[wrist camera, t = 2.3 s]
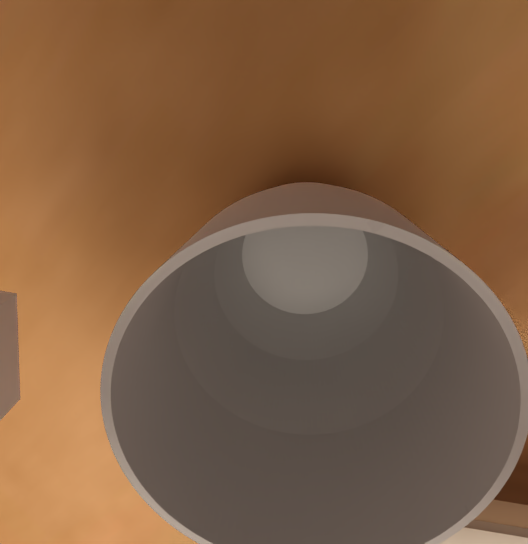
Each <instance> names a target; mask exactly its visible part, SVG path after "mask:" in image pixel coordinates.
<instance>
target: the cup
mask: <svg viewBox="0 0 528 544" xmlns="http://www.w3.org/2000/svg"><path fill="white" fill-rule="evenodd" d="M101 408H102V415H103V421H104V425H105V429H106V433H107V436H108V440H109V442H110V445H111V448H112V450H113V453H114V455H115V457H116V459H117V461H118V463H119V465H120V467H121V469H122V471H123V472H124V474H125V475H126V477H127V479H128V480H129V482H130V483H131V484H132V486H133V487H134V489H135V490H136V491H137V492H138V494H139V495H140V496H141V497H142V498H143V500H144V501H145V502H146V503H147V504H148V505H149V506H150V507H151V508H152V509H153V510H154V511H155V512H156V513H157V514H158V515H159V516H160V517H162V518H163V519H164V520H165V521H166V522H167V523H169V524H170V525H171V526H173V527H174V528H175V529H177V530H178V531H180V532H181V533H182V534H184V535H185V536H187V537H189V538H190V539H192V540H193V541H195V542H197V543H199V544H440V543H441V542H443V541H445V540H446V539H448V538H450V537H451V536H453V535H454V534H456V533H457V532H458V531H460V530H461V529H462V528H464V527H465V526H466V525H468V524H469V523H470V522H471V521H472V520H474V519H475V518H476V517H477V516H478V515H479V514H480V513H481V512H482V511H483V510H484V509H485V508H486V507H487V506H488V505H489V504H490V503H491V502H492V500H493V499H494V498H495V497H496V496H497V494H498V493H499V492H500V490H501V489H502V488H503V486H504V485H505V483H506V482H507V480H508V479H509V477H510V475H511V473H512V472H513V470H514V468H515V466H516V464H517V462H518V460H519V457H520V455H521V453H522V450H523V447H524V444H525V441H526V438H527V434H528V359H527V355H526V352H525V349H524V346H523V343H522V340H521V338H520V335H519V333H518V331H517V329H516V327H515V325H514V323H513V321H512V319H511V317H510V316H509V314H508V312H507V311H506V309H505V308H504V306H503V305H502V303H501V302H500V301H499V299H498V298H497V297H496V295H495V294H494V293H493V292H492V290H491V289H490V288H489V287H488V286H487V285H486V284H485V283H484V282H483V281H482V280H481V279H480V278H479V277H478V276H477V275H476V274H475V273H474V272H473V271H472V270H471V269H470V268H468V267H467V266H466V265H465V264H463V263H462V262H461V261H460V260H458V259H457V258H456V257H455V256H453V255H452V254H451V253H450V252H448V251H447V250H446V249H445V248H443V247H442V246H441V245H440V244H438V243H437V242H436V241H435V240H433V239H432V238H431V237H429V236H428V235H427V234H426V233H424V232H423V231H422V230H421V229H419V228H418V227H417V226H416V225H414V224H413V223H412V222H411V221H409V220H408V219H407V218H406V217H404V216H403V215H402V214H401V213H399V212H398V211H396V210H395V209H393V208H392V207H390V206H389V205H387V204H385V203H383V202H382V201H380V200H378V199H376V198H374V197H371V196H369V195H366V194H364V193H361V192H358V191H355V190H352V189H348V188H344V187H339V186H334V185H329V184H323V183H315V182H299V183H290V184H285V185H281V186H277V187H274V188H270V189H267V190H263V191H260V192H257V193H254V194H252V195H249V196H247V197H245V198H243V199H241V200H239V201H237V202H235V203H233V204H231V205H230V206H228V207H227V208H225V209H224V210H222V211H221V212H219V213H218V214H217V215H215V216H214V217H213V218H212V219H211V220H209V221H208V222H207V223H206V224H205V225H204V226H203V227H202V228H201V229H200V230H199V231H198V232H197V233H196V234H194V235H193V236H192V237H191V238H190V239H189V240H188V241H187V242H186V243H185V244H184V245H183V246H182V247H181V248H180V249H179V250H177V251H176V252H175V253H174V254H173V255H172V256H171V257H170V258H169V259H168V260H167V261H166V262H165V263H164V264H163V265H162V266H160V267H159V268H158V269H157V270H156V271H155V272H154V273H153V274H152V275H151V276H150V277H149V278H148V279H147V280H146V281H145V282H144V283H143V285H142V286H141V287H140V288H139V289H138V290H137V292H136V293H135V294H134V295H133V297H132V298H131V300H130V301H129V302H128V304H127V305H126V307H125V309H124V310H123V312H122V314H121V315H120V317H119V319H118V321H117V323H116V325H115V327H114V329H113V332H112V334H111V337H110V340H109V343H108V345H107V349H106V353H105V356H104V361H103V367H102V374H101Z"/></svg>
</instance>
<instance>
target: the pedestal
mask: <svg viewBox="0 0 528 544" xmlns="http://www.w3.org/2000/svg"><path fill="white" fill-rule="evenodd" d="M440 544H528V434H527V438H526V441H525V444H524V447H523V450H522V453H521V455H520V457H519V460H518V462H517V464H516V466H515V468H514V470H513V472H512V473H511V475H510V477H509V479H508V480H507V482H506V483H505V485H504V486H503V488H502V489H501V490H500V492H499V493H498V494H497V496H496V497H495V498H494V499H493V500H492V502H491V503H490V504H489V505H488V506H487V507H486V508H485V509H484V510H483V511H482V512H481V513H480V514H479V515H478V516H477V517H476V518H475V519H474V520H472V521H471V522H470V523H469V524H468V525H466V526H465V527H464V528H462V529H461V530H460V531H458V532H457V533H456V534H454V535H453V536H451V537H450V538H448V539H446V540H445V541H443V542H441V543H440Z"/></svg>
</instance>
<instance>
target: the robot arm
mask: <svg viewBox="0 0 528 544" xmlns="http://www.w3.org/2000/svg"><path fill="white" fill-rule="evenodd" d="M19 400H20V378H19V348H18V318H17V293H11V292H5V291H0V420H1V419H2V418H3V417H4V416H5V415H6V414H7V413H8V412H9V411H10V409H11V408H12V407H13V406H14V405H15V404H16V403H17V402H18V401H19Z"/></svg>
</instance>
